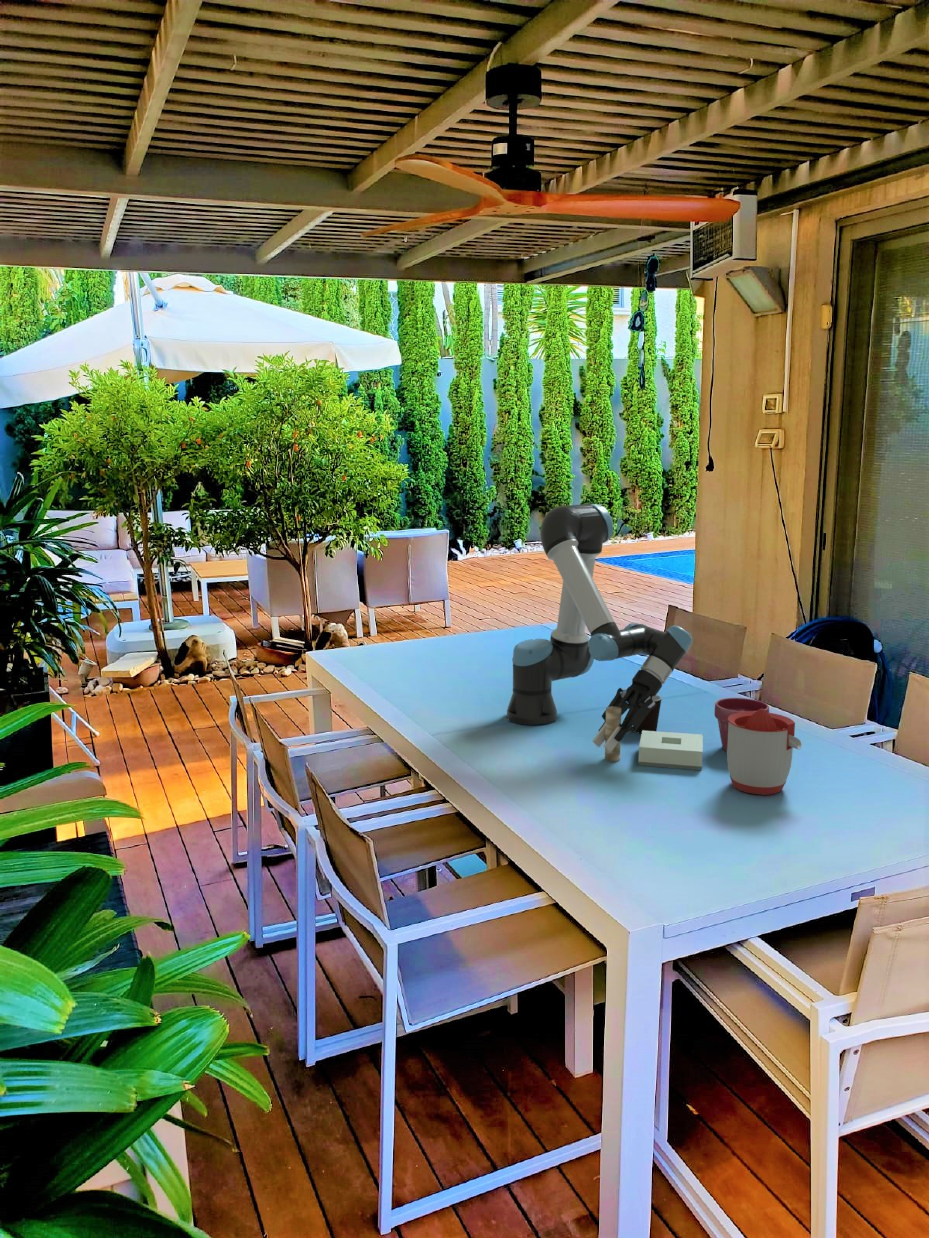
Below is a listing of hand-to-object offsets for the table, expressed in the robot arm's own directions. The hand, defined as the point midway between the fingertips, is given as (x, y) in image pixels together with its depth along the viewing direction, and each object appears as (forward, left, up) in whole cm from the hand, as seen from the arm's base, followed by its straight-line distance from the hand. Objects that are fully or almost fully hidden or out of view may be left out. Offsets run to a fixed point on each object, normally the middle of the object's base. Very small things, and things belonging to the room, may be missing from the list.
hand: (601, 746), depth 248 cm
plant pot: (+36, +19, -4) cm, 41 cm away
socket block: (+18, +7, -4) cm, 19 cm away
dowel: (+3, +3, -4) cm, 6 cm away
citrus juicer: (+40, -9, -4) cm, 41 cm away
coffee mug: (+10, +31, -4) cm, 32 cm away
